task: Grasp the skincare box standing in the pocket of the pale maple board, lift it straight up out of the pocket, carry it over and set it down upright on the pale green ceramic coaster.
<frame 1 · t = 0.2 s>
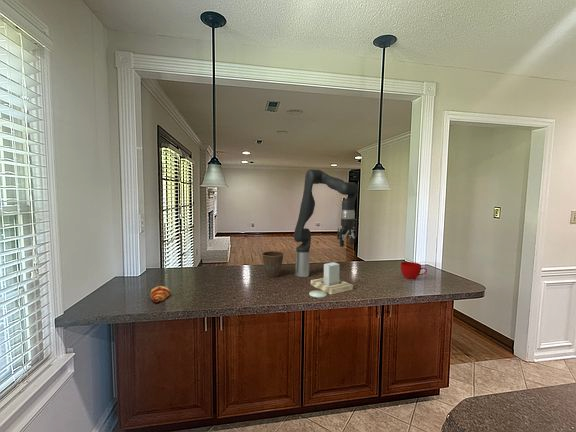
hand: (346, 245, 168), 28 cm above the worktop, fingers open, 8 cm apart
ceramic cup: (413, 279, 201), on the worktop
pocket board: (331, 287, 182), on the worktop
skincare box: (331, 287, 182), resting in pocket board
plant pot: (272, 276, 204), on the worktop
croissant: (160, 298, 163), on the worktop
coaster: (318, 294, 169), on the worktop
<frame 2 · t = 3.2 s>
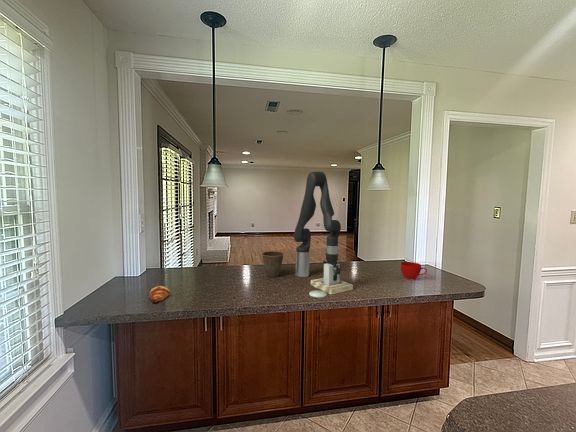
hand: (331, 279, 181), 5 cm above the worktop, fingers closed on skincare box, 6 cm apart
skincare box: (331, 287, 182), resting in pocket board, touching gripper
everything else where it was.
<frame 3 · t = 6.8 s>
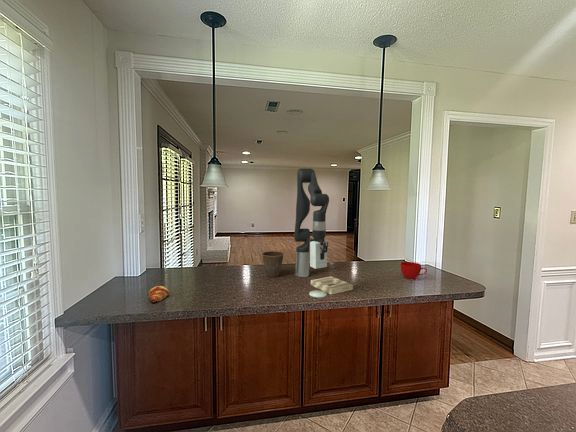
hand: (318, 258, 167), 21 cm above the worktop, fingers closed on skincare box, 6 cm apart
skincare box: (318, 267, 168), point 16 cm above the worktop, touching gripper
everything else where it was.
when the fingers open (7 cm above the worktop, at t = 10.2 s): skincare box drops 1 cm, resting on coaster.
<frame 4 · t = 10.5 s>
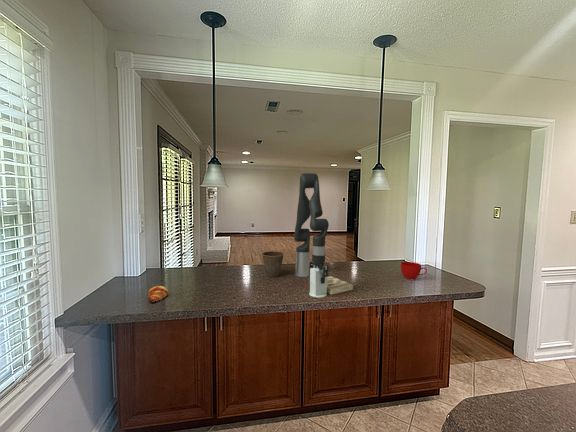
hand: (318, 281, 168), 8 cm above the worktop, fingers open, 8 cm apart
skincare box: (318, 293, 169), resting on coaster
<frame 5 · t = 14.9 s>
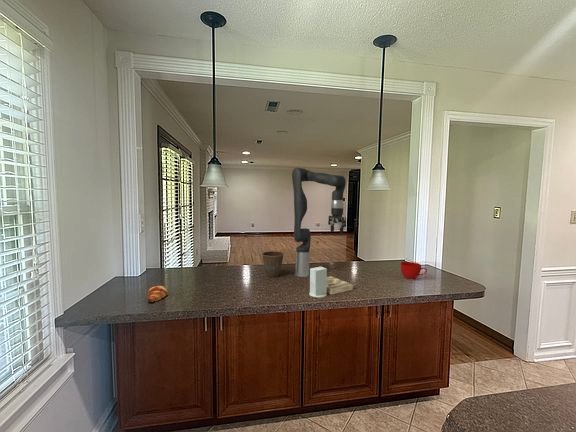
hand: (336, 232, 186), 33 cm above the worktop, fingers open, 8 cm apart
at the end: skincare box 0.1 cm from the coaster (horizontally); skincare box tilted 0°; the gripper is holding nothing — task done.
